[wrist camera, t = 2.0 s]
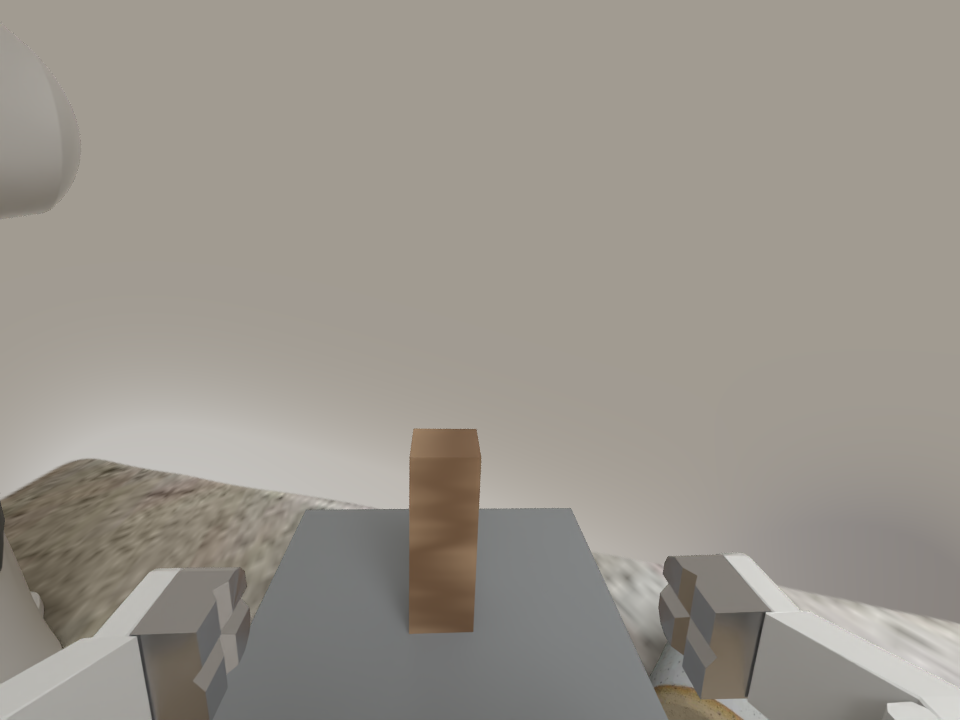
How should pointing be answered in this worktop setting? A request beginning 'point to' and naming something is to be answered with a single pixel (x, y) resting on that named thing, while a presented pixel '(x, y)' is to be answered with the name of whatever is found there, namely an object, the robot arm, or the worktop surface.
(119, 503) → the worktop surface
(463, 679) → the lid
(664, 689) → the ceramic mug
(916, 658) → the worktop surface
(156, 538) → the worktop surface
